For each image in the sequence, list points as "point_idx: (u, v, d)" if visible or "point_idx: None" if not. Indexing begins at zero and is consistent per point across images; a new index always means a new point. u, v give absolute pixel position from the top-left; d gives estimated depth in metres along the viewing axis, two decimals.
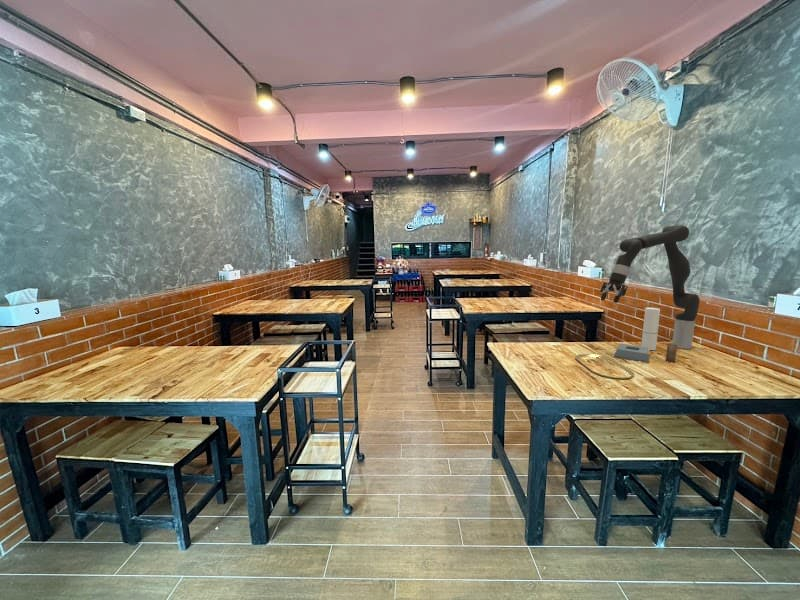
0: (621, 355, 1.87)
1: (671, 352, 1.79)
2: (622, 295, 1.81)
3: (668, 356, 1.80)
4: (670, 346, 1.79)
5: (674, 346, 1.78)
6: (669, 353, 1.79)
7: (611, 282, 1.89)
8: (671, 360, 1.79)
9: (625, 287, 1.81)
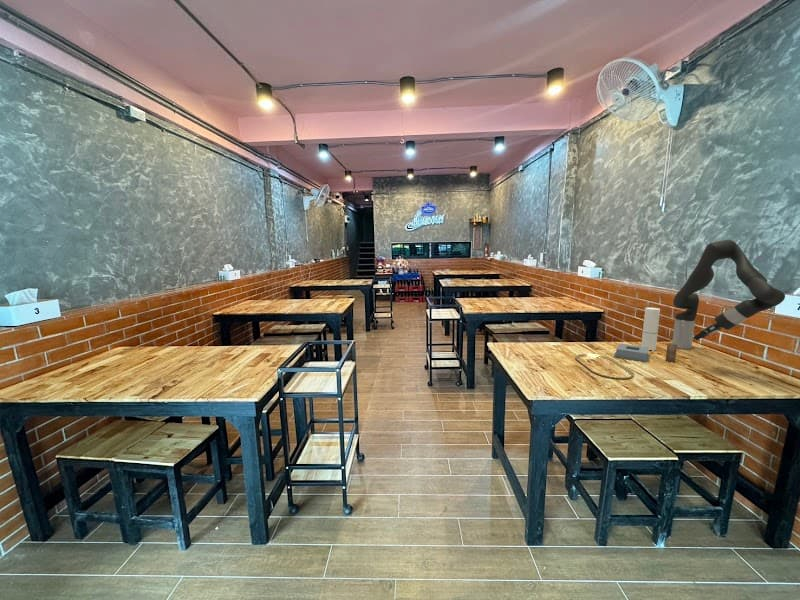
0: (621, 355, 1.87)
1: (671, 352, 1.79)
2: None
3: (668, 356, 1.80)
4: (670, 346, 1.79)
5: (674, 346, 1.78)
6: (669, 353, 1.79)
7: (720, 327, 1.61)
8: (671, 360, 1.79)
9: None
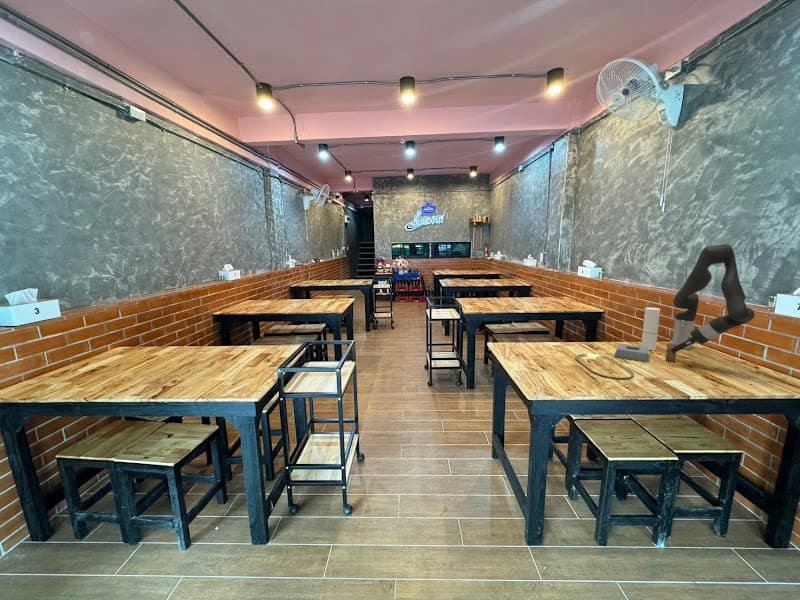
0: (621, 355, 1.87)
1: (671, 352, 1.79)
2: None
3: (668, 356, 1.80)
4: (670, 346, 1.79)
5: (674, 346, 1.78)
6: (669, 353, 1.79)
7: (695, 341, 1.70)
8: (671, 360, 1.79)
9: None
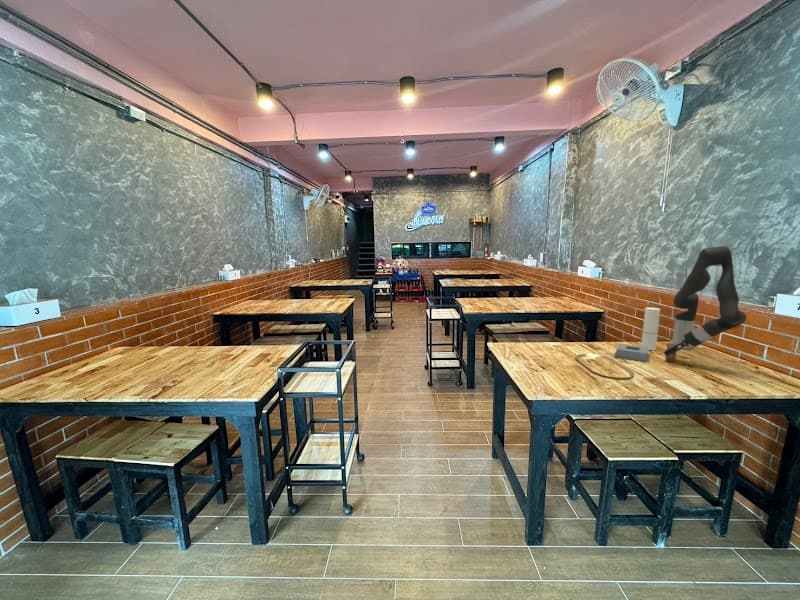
0: (621, 355, 1.87)
1: None
2: None
3: (668, 356, 1.80)
4: (670, 346, 1.79)
5: None
6: None
7: (688, 344, 1.73)
8: (671, 360, 1.79)
9: None
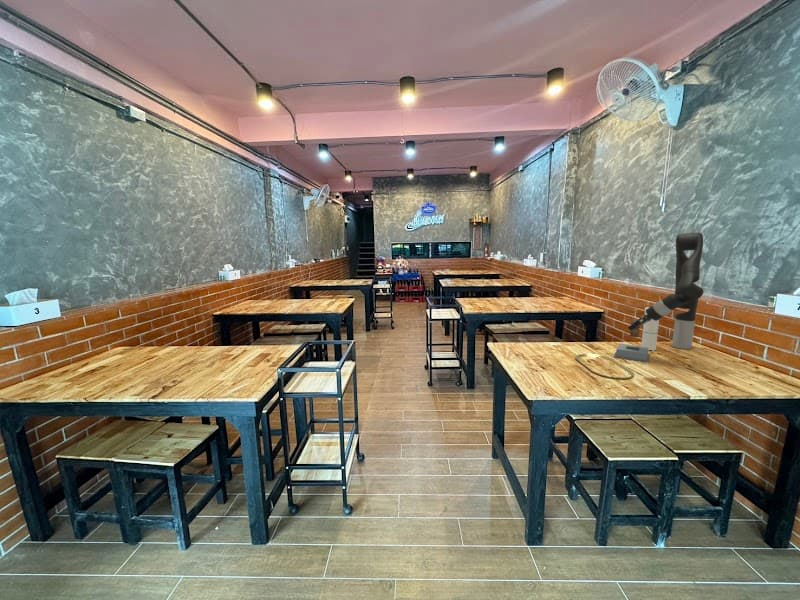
0: (621, 355, 1.87)
1: None
2: None
3: (632, 331, 1.86)
4: (634, 321, 1.85)
5: None
6: None
7: (650, 318, 1.79)
8: (635, 335, 1.86)
9: None
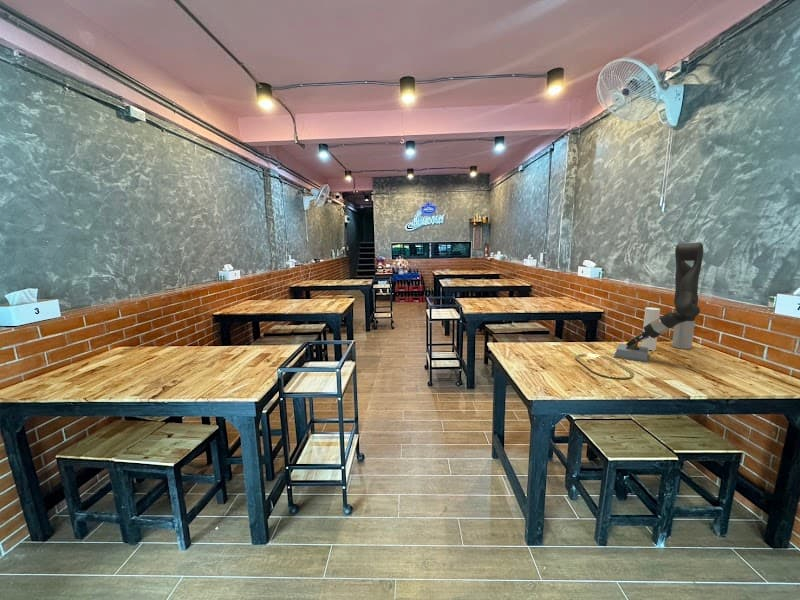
0: (621, 355, 1.87)
1: (632, 346, 1.87)
2: None
3: None
4: None
5: (635, 340, 1.86)
6: (631, 347, 1.88)
7: (647, 335, 1.81)
8: None
9: None
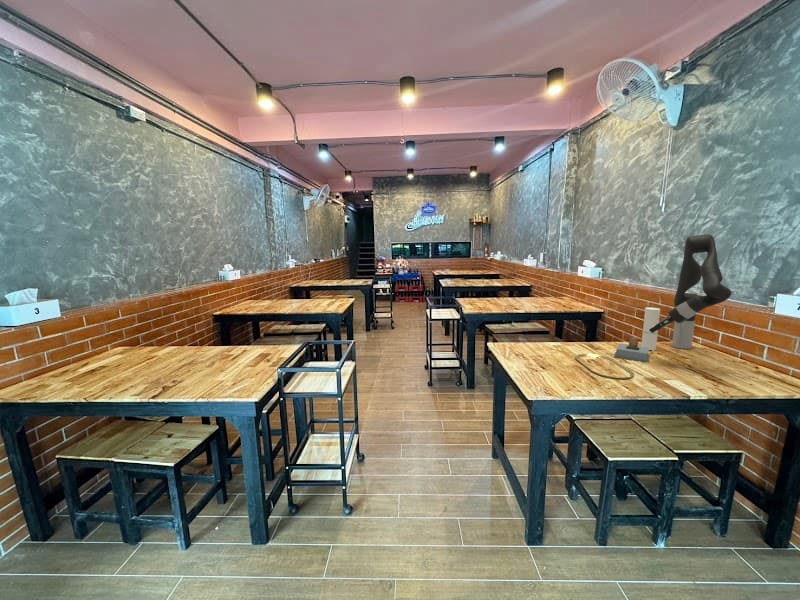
0: (621, 355, 1.87)
1: (632, 346, 1.87)
2: None
3: None
4: (631, 340, 1.87)
5: (635, 340, 1.86)
6: (631, 347, 1.88)
7: (673, 320, 1.72)
8: None
9: None
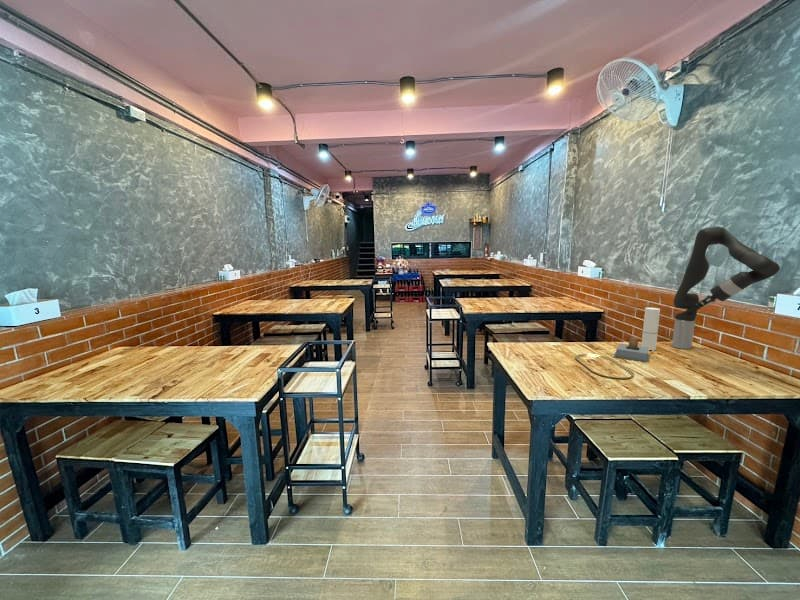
0: (621, 355, 1.87)
1: (632, 346, 1.87)
2: None
3: None
4: (631, 340, 1.87)
5: (635, 340, 1.86)
6: (631, 347, 1.88)
7: (715, 299, 1.66)
8: None
9: None
